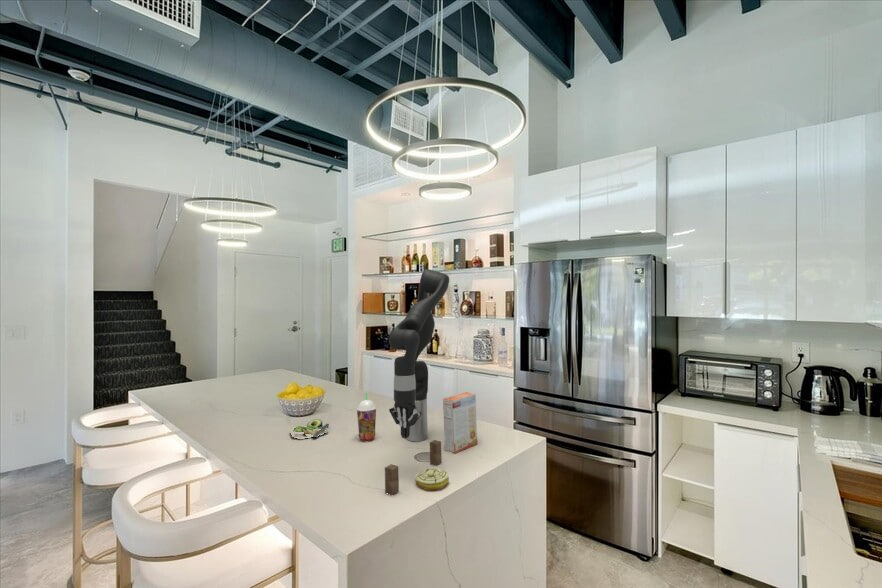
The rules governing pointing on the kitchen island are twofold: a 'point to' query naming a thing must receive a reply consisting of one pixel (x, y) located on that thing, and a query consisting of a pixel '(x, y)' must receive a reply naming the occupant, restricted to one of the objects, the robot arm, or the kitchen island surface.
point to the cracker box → (460, 422)
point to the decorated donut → (432, 479)
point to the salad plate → (313, 428)
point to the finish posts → (392, 470)
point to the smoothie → (366, 419)
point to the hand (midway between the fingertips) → (405, 437)
